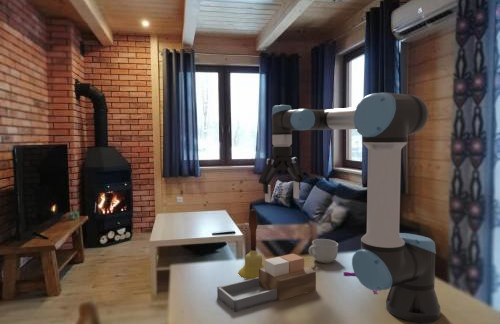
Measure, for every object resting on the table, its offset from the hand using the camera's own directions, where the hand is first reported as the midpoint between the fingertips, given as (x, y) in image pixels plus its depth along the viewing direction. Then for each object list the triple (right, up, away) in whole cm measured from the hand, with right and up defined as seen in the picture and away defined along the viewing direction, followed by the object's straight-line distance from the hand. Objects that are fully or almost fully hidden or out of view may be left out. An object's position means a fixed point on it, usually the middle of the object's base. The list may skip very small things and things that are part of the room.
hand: (282, 200), depth 148 cm
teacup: (+18, -27, +11) cm, 34 cm away
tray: (-14, -30, -23) cm, 40 cm away
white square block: (-3, -23, -18) cm, 29 cm away
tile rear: (+2, -23, -15) cm, 27 cm away
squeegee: (+28, -29, -6) cm, 41 cm away
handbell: (-11, -28, -1) cm, 31 cm away
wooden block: (0, -29, -16) cm, 33 cm away
